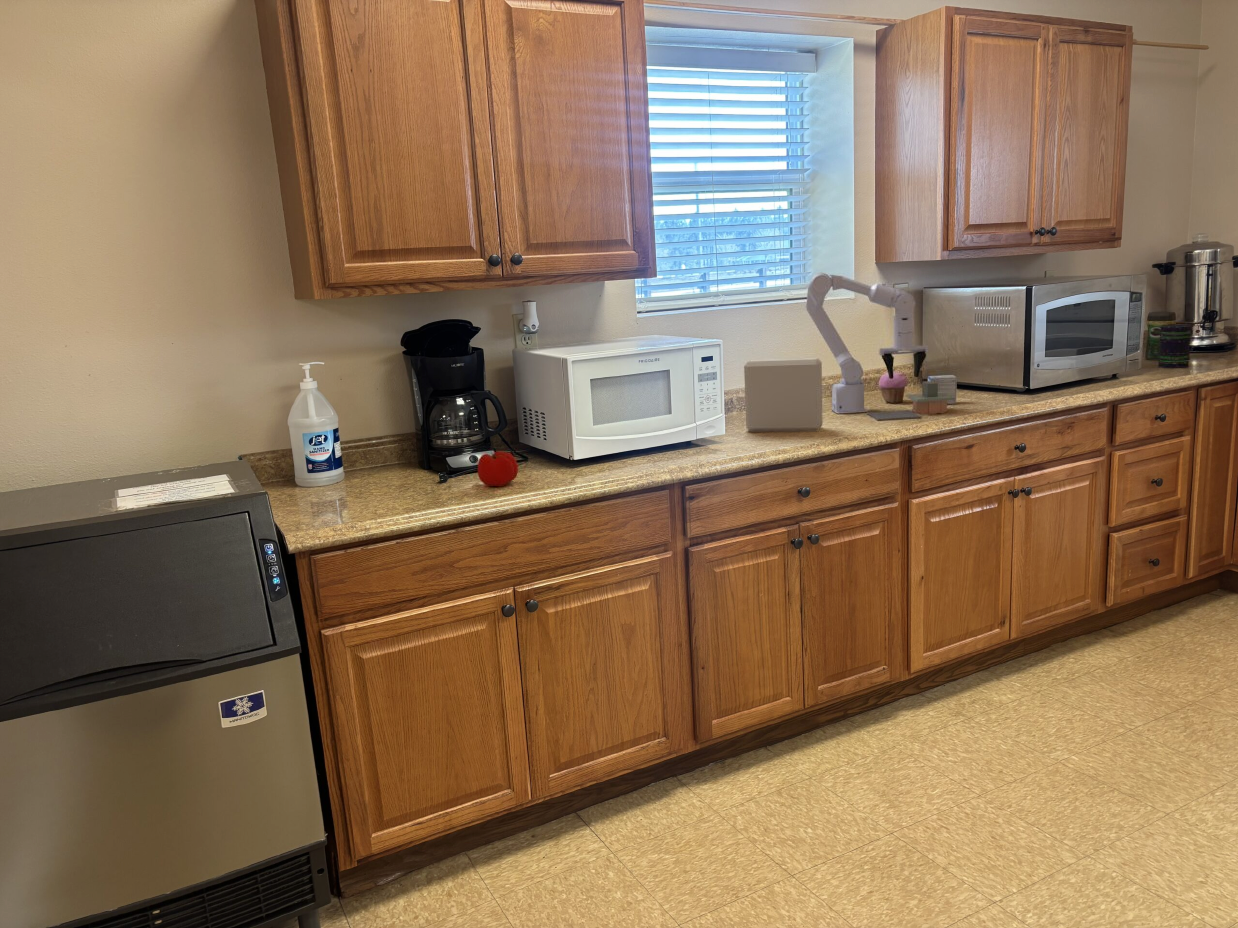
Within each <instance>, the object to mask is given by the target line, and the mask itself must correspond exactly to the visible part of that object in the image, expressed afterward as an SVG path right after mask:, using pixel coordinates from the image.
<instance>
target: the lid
mask: <svg viewBox="0 0 1238 928" xmlns="http://www.w3.org/2000/svg"><path fill="white" fill-rule="evenodd" d="M921 382H922V385H921V387H922V388H921V393H906V394H905V398H907V399H910V400H911V401H912V402H913V401H916V402H928V401H945V400H955V397H953V396H951V395H948V394H946V393H943V392H938V383H936V382H933V381H928V380H927V381H921Z"/></svg>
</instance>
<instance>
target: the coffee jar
mask: <svg viewBox="0 0 1238 928" xmlns="http://www.w3.org/2000/svg"><path fill="white" fill-rule="evenodd" d="M1176 323H1177V315H1176V312H1174V311H1168V310H1167V311H1166V310H1165V311H1163V310H1161V311H1159V310H1158V311H1151V312H1148V315H1147V318H1146V326H1147V339H1146V345H1145V351H1144V352H1145V353H1144V358H1145V359H1146V360H1148V361H1149V360H1150V361H1159V360H1158V357H1159V352H1160V337H1161V336H1160V333H1161V332H1160V330H1161V328H1160V326H1162V325H1177V324H1176Z"/></svg>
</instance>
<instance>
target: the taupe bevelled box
mask: <svg viewBox="0 0 1238 928" xmlns="http://www.w3.org/2000/svg"><path fill="white" fill-rule="evenodd" d="M743 367H744V368H743V369H744V370H743V374H744V377H743V378H744V400H745V406H744V407H745V425H746V426H745V427H746V429H747V430H748V432H751V433H752V432H755V433H756V432H757V433H761V432H763V433H764V432H768V433H769V432H819V430H820V429H821V428H822V427H823V424H824V423H823V422H824V421H823V372H822V371H823V370H822V368H823V367H822V361H821V360H820V359H819V358H818V357H807V358H806V357H803V358H777V359H776V358H772V359H750V360H747V362H746V363H745V364H744V366H743Z"/></svg>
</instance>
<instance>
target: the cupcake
mask: <svg viewBox="0 0 1238 928" xmlns="http://www.w3.org/2000/svg"><path fill="white" fill-rule="evenodd" d="M908 382H909V381H908V379H907V377H906V376H905V374H903V373H902V372H897V371H893V379H890V378H889V375H888V372H886V373H884V374H882V375H881V377H880V378H879V380H878V387H879V388H880V391H881V396H882V398H883V400H884V401H885V402H886V403H890V404H896V403H902V402H903V401H904V397H905V388H906V387H907V386H908V384H909V383H908Z"/></svg>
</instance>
